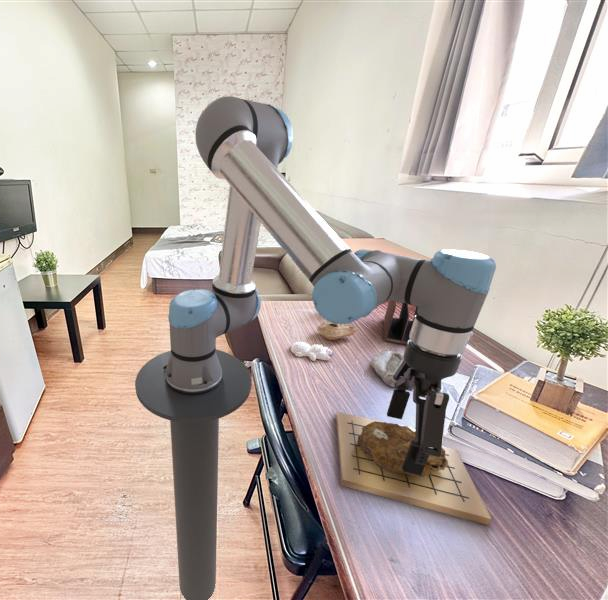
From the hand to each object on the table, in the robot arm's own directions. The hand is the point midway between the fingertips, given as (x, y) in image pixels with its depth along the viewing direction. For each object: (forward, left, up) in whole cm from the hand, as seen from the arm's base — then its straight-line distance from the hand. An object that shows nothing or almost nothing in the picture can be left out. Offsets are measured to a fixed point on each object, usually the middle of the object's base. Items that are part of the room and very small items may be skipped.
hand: (401, 441), depth 59 cm
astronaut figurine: (-17, +36, -5) cm, 40 cm away
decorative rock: (0, 0, -3) cm, 3 cm away
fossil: (+6, +34, -5) cm, 35 cm away
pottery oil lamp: (-9, +49, -5) cm, 50 cm away
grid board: (0, 0, -5) cm, 5 cm away
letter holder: (+13, +61, -5) cm, 62 cm away
